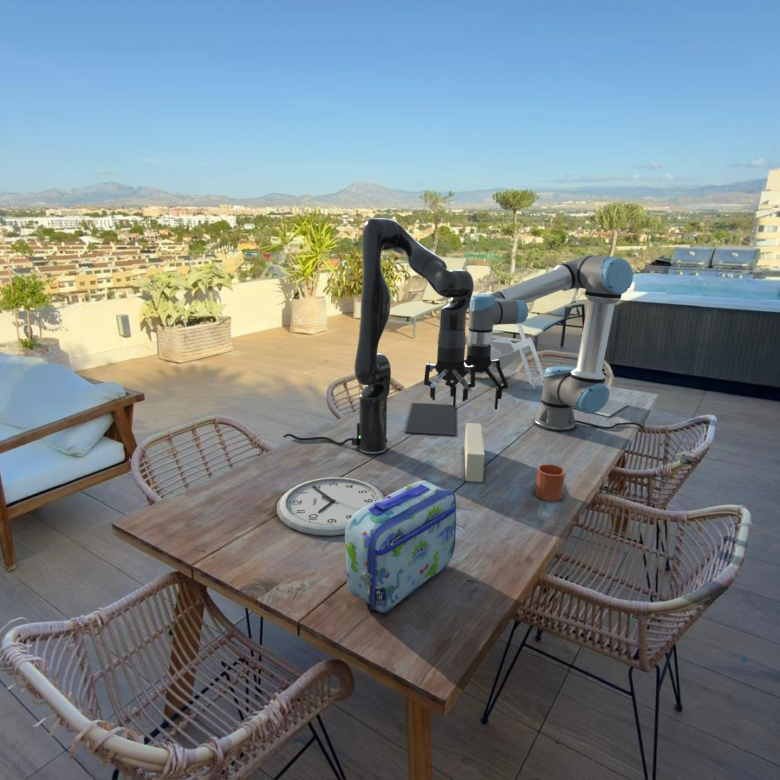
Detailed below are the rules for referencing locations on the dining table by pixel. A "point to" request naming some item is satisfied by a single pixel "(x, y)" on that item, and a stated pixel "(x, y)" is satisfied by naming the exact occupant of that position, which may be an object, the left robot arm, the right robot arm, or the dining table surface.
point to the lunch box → (399, 543)
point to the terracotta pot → (550, 482)
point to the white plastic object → (513, 354)
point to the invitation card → (610, 408)
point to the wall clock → (325, 504)
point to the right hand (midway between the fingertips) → (474, 407)
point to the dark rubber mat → (432, 419)
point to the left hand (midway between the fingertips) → (448, 400)
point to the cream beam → (474, 453)
